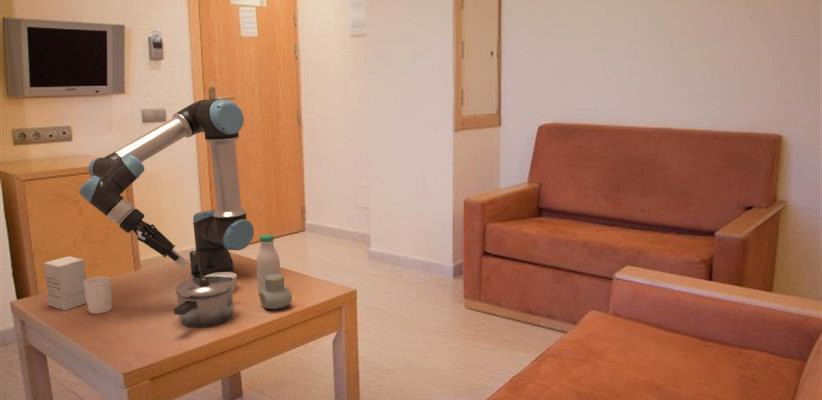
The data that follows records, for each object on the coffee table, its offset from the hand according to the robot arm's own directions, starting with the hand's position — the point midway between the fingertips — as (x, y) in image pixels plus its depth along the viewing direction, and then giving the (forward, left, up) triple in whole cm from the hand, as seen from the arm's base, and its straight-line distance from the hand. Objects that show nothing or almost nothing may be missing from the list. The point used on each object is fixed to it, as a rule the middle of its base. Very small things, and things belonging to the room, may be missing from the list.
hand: (186, 264), depth 209 cm
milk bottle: (-23, +12, -14) cm, 30 cm away
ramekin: (-15, -4, -14) cm, 21 cm away
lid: (+2, +11, -4) cm, 12 cm away
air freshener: (-15, +24, -14) cm, 32 cm away
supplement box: (+22, -35, -14) cm, 44 cm away
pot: (+4, +14, -14) cm, 20 cm away
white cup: (+19, -21, -14) cm, 32 cm away
